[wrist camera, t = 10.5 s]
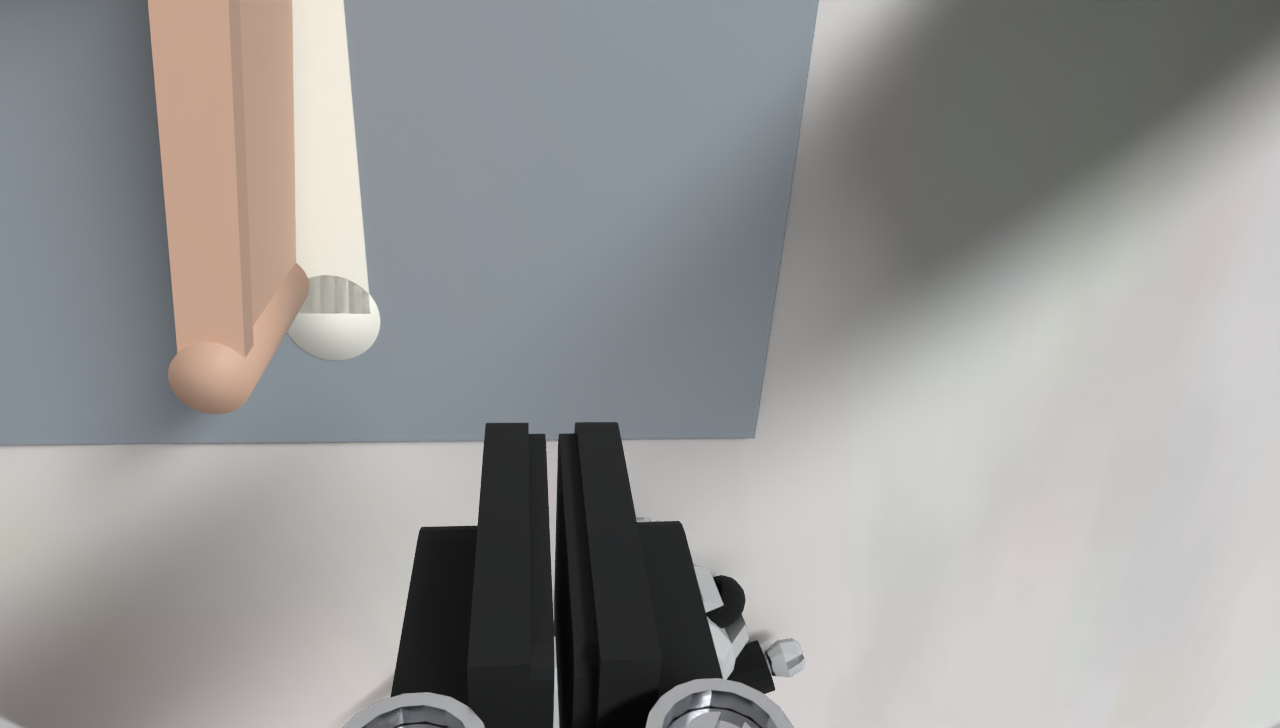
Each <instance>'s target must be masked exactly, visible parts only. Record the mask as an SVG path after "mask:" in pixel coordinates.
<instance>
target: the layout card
mask: <svg viewBox="0 0 1280 728" xmlns="http://www.w3.org/2000/svg"><path fill="white" fill-rule="evenodd" d="M818 3H819V0H292V17H293V84H294V151H295V218H296V263H297V264H298V265H300V266H301V268H302V269H303V270H304V271H305V273H306V275H307V277H308V280H309V294H308V296H307V298H306V300H305V302H304V304H303V305H302V307H301V309H300V310H299V312H298V314H297V316H296V317H295V319H294V321H293V322H292V324H291V326H290V328H289V329H288V331H287V333H286V334H285V336H284V338H283V340H282V341H281V343H280V345H279V347H278V348H277V350H276V352H275V353H274V355H273V357H272V359H271V360H270V362H269V364H268V365H267V367H266V369H265V371H264V372H263V374H262V376H261V377H260V379H259V381H258V383H257V384H256V386H255V388H254V389H253V391H252V393H251V395H250V396H249V398H248V400H247V401H246V402H245V404H243V405H242V406H241V407H240V408H238V409H237V410H235V411H232V412H229V413H225V414H207V413H202V412H199V411H196V410H194V409H192V408H190V407H189V406H187V405H185V404H184V403H183V402H182V401H181V400H179V399H178V397H177V396H176V395H175V394H174V392H173V391H172V389H171V387H170V384H169V380H168V369H169V366H170V363H171V361H172V360H173V358H174V357H175V356H176V355H177V341H176V329H175V317H174V305H173V294H172V282H171V270H170V258H169V246H168V234H167V223H166V211H165V199H164V187H163V175H162V163H161V151H160V140H159V128H158V116H157V104H156V92H155V80H154V69H153V57H152V45H151V33H150V21H149V9H148V0H0V445H60V444H170V443H280V442H391V441H484V437H485V425H486V423H529V434H545V435H546V440H558V437H559V434H563V433H574V429H575V422H617V423H618V425H619V430H620V435H621V439H722V438H755V432H756V425H757V418H758V411H759V404H760V398H761V391H762V384H763V377H764V370H765V364H766V357H767V350H768V343H769V336H770V330H771V323H772V316H773V309H774V302H775V295H776V289H777V282H778V275H779V268H780V261H781V255H782V248H783V241H784V234H785V227H786V221H787V214H788V207H789V200H790V193H791V187H792V180H793V173H794V166H795V159H796V152H797V146H798V139H799V132H800V125H801V118H802V112H803V105H804V98H805V91H806V84H807V78H808V71H809V64H810V57H811V50H812V44H813V37H814V30H815V23H816V16H817V9H818Z"/></svg>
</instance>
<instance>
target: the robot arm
mask: <svg viewBox="0 0 1280 728" xmlns="http://www.w3.org/2000/svg"><path fill="white" fill-rule="evenodd" d="M554 614H555V640H556V663H557V686H558V709H559V728H794V727H793V725H792V723H791V722H790V721H789V719H788V718H787V716H786V715H785V714H784V712H783V711H782V709H781V708H780V707H779V706H778V705H777V704H775V703H774V702H773V701H772V700H771V699H769V698H768V697H767V696H766V695H764V694H763V693H762V692H760V691H758V690H755V689H753V688H751V687H749V686H747V685H745V684H743V683H740V682H735V681H730V680H725V679H723V676H722V672H721V669H720V665H719V661H718V657H717V653H716V650H715V646H714V642H713V638H712V634H711V630H710V627H709V623H708V619H707V615H706V611H705V608H704V604H703V600H702V596H701V592H700V588H699V585H698V581H697V577H696V573H695V569H694V566H693V562H692V558H691V554H690V550H689V546H688V543H687V539H686V535H685V532H684V529H683V526H682V524H681V523H680V522H679V521H665V522H637V521H636V516H635V510H634V505H633V500H632V494H631V489H630V484H629V478H628V473H627V468H626V462H625V457H624V452H623V446H622V441H621V435H620V430H619V425H618V423H617V422H575V429H574V433H563V434H559V437H558V472H557V512H556V552H555V592H554ZM554 677H555V665H554V626H553V602H552V578H551V554H550V530H549V506H548V482H547V458H546V435H545V434H529V423H486V425H485V437H484V451H483V464H482V477H481V490H480V503H479V516H478V526H448V527H421V529H420V531H419V536H418V541H417V546H416V552H415V558H414V564H413V570H412V576H411V581H410V587H409V593H408V599H407V605H406V611H405V617H404V622H403V628H402V634H401V640H400V646H399V652H398V657H397V663H396V669H395V675H394V681H393V687H392V692H391V698H387V699H384V700H381V701H379V702H377V703H375V704H373V705H371V706H370V707H368V708H366V709H364V710H363V711H361V712H359V713H357V714H356V715H355V716H354V717H353V718H352V719H351V720H350V721H349V722H348V723H347V724H346V725H345V726H344V727H343V728H553V720H554Z"/></svg>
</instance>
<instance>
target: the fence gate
mask: <svg viewBox="0 0 1280 728" xmlns="http://www.w3.org/2000/svg"><path fill="white" fill-rule="evenodd" d="M148 9H149V21H150V33H151V45H152V57H153V69H154V80H155V92H156V104H157V116H158V128H159V140H160V151H161V163H162V175H163V187H164V199H165V211H166V223H167V234H168V246H169V258H170V270H171V282H172V294H173V305H174V317H175V329H176V341H177V355H176V356H175V357H174V358H173V360H172V361H171V363H170V366H169V369H168V380H169V384H170V387H171V389H172V391H173V392H174V394H175V395H176V396H177V397H178V399H179V400H181V401H182V402H183V403H184V404H185V405H187V406H189V407H190V408H192V409H194V410H196V411H199V412H202V413H207V414H225V413H229V412H232V411H235V410H237V409H238V408H240V407H241V406H242V405H243V404H245V402H246V401H247V400H248V398H249V396H250V395H251V393H252V391H253V389H254V388H255V386H256V384H257V383H258V381H259V379H260V377H261V376H262V374H263V372H264V371H265V369H266V367H267V365H268V364H269V362H270V360H271V359H272V357H273V355H274V353H275V352H276V350H277V348H278V347H279V345H280V343H281V341H282V340H283V338H284V336H285V334H286V333H287V331H288V329H289V328H290V326H291V324H292V322H293V321H294V319H295V317H296V316H297V314H298V312H299V310H300V309H301V307H302V305H303V304H304V302H305V300H306V298H307V296H308V294H309V280H308V277H307V275H306V273H305V271H304V270H303V269H302V268H301V266H300V265H298V264H297V263H296V218H295V151H294V84H293V17H292V0H148Z"/></svg>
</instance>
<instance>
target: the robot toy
mask: <svg viewBox="0 0 1280 728" xmlns="http://www.w3.org/2000/svg"><path fill="white" fill-rule="evenodd" d="M636 521H637V522H651V519H649V518H645V517H643V518H637V519H636ZM657 522H660V521H657ZM694 569H695V573H696V577H697V581H698V585H699V588H700V592H701V596H702V600H703V604H704V608H705V611H706V615H707V619H708V623H709V627H710V630H711V634H712V638H713V642H714V646H715V650H716V653H717V657H718V661H719V665H720V669H721V672H722V676H723V679H725V680H730V681H735V682H740V683H743V684H745V685H747V686H749V687H751V688H753V689H755V690H758V691H760V692H762V693H763V694H766V693H768V692H771V691H774V690H775V687H774V683H773V680H772V676H771V675H773V676H782V677H791V676H793V675H794V674H796V673H797V672H799V671H801V670H802V669H803V667H804V664H805V659H804V657H803V655H802V654H803V651H802V648H801V646H800V644H799V642H797V641H796V640H794V639H792V638H791V639H783V640H777V641H776V642H775V643H774V644H773V645H772V646H771V647H770V648H769V649H768V650H767V651H766V652H765V653H764V654H763V652H762V649H761V647H760V645H759V643H758V641H757V640H756V641H753V642H751V643H748V644H746V643H747V642H748V640H749V636H748V632H747V628H746V624H745V621H744V619H743V617H742V612H743V610H744V605H745V595H744V591H743V589H742V588H741V586H740V585H739V584H738V583H737V582H736V580H734V579H733V578H730V577H727V576H723V575H720V576H716V577H713V576H712V574H711V571H710V569H707V568H702V567H698V566H694ZM554 665H555V677H554V720H553V728H559V709H558V686H557V663H556V640H555V636H554Z"/></svg>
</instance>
